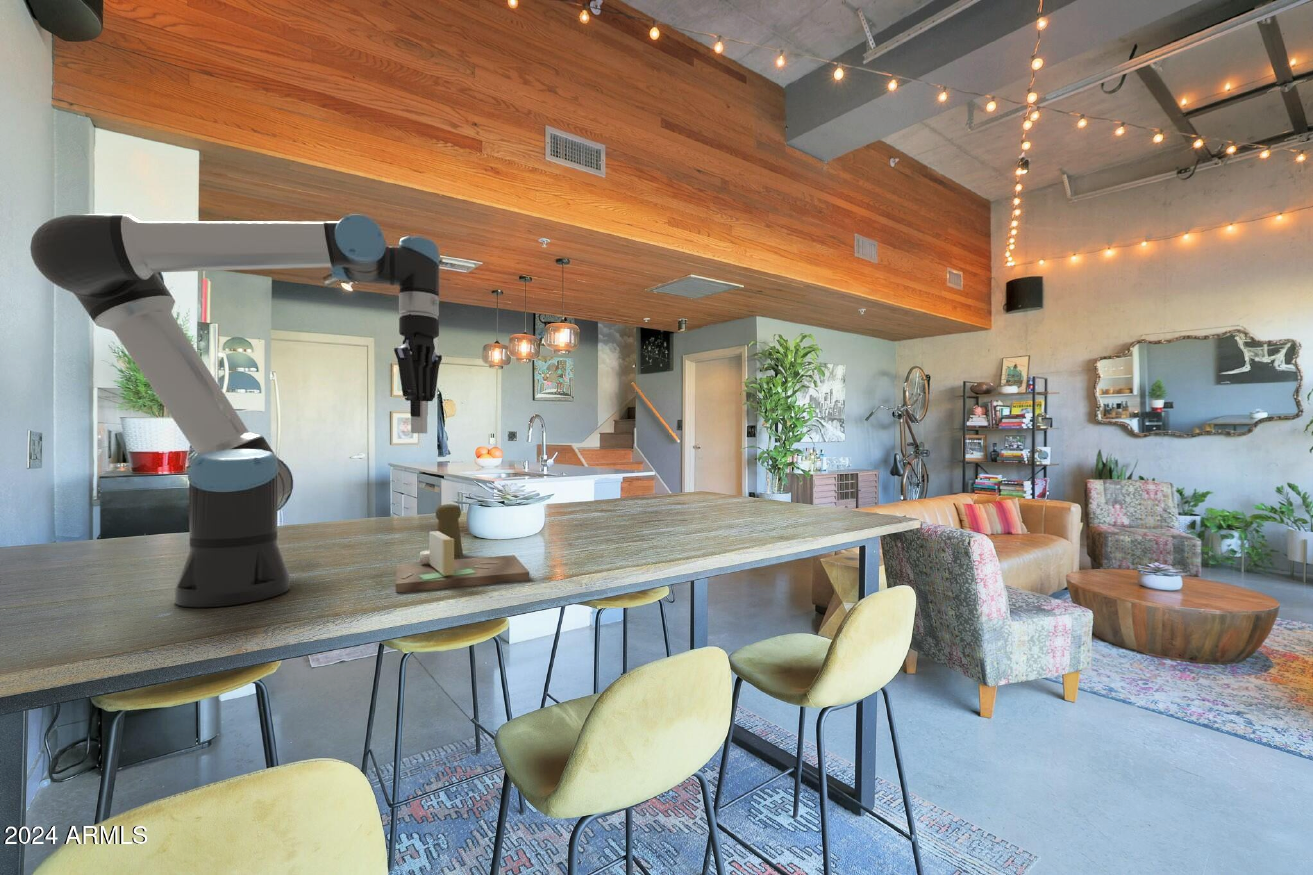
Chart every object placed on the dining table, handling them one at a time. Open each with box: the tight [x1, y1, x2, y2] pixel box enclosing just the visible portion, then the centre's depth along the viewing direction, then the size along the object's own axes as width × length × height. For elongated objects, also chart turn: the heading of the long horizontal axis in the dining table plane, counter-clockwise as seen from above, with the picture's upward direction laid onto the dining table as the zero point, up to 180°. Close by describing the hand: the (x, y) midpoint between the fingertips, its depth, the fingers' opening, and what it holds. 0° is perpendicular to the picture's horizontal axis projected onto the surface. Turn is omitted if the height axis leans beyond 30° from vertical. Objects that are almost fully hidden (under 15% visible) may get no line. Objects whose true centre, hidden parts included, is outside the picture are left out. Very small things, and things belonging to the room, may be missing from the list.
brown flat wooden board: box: [395, 554, 530, 594], centre depth 109 cm, size 22×16×2 cm
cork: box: [435, 503, 464, 558], centre depth 127 cm, size 6×6×11 cm
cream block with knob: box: [419, 530, 455, 576], centre depth 107 cm, size 15×4×6 cm, turn 34°
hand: (419, 433), depth 119 cm, fingers closed
